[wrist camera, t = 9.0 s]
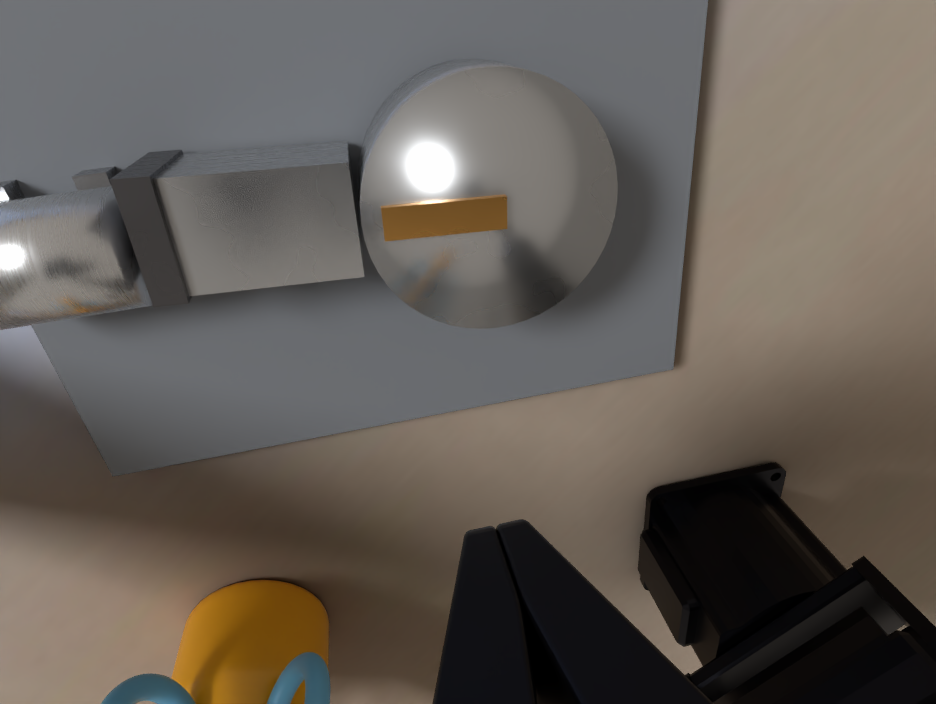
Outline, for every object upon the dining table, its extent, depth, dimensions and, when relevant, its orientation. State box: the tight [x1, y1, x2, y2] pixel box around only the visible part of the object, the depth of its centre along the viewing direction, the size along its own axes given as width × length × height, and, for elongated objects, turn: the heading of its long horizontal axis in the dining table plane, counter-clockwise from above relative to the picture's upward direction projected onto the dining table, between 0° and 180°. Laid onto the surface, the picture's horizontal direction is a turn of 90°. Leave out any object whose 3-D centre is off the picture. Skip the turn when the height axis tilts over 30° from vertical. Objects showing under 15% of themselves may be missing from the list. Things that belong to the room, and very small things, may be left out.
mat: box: [0, 0, 708, 476], centre depth 17 cm, size 20×15×1 cm
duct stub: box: [0, 166, 152, 330], centre depth 15 cm, size 4×3×3 cm
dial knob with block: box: [109, 59, 618, 329], centre depth 15 cm, size 12×6×3 cm, turn 92°
